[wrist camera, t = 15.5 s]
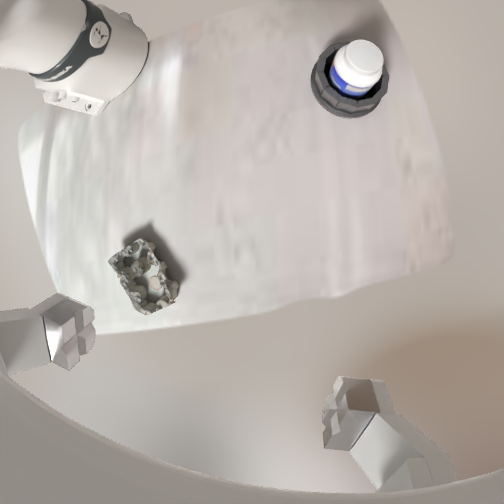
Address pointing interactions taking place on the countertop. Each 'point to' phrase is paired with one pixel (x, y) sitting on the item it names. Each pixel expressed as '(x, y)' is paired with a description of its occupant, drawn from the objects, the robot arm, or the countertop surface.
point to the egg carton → (138, 269)
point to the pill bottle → (356, 69)
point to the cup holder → (336, 101)
